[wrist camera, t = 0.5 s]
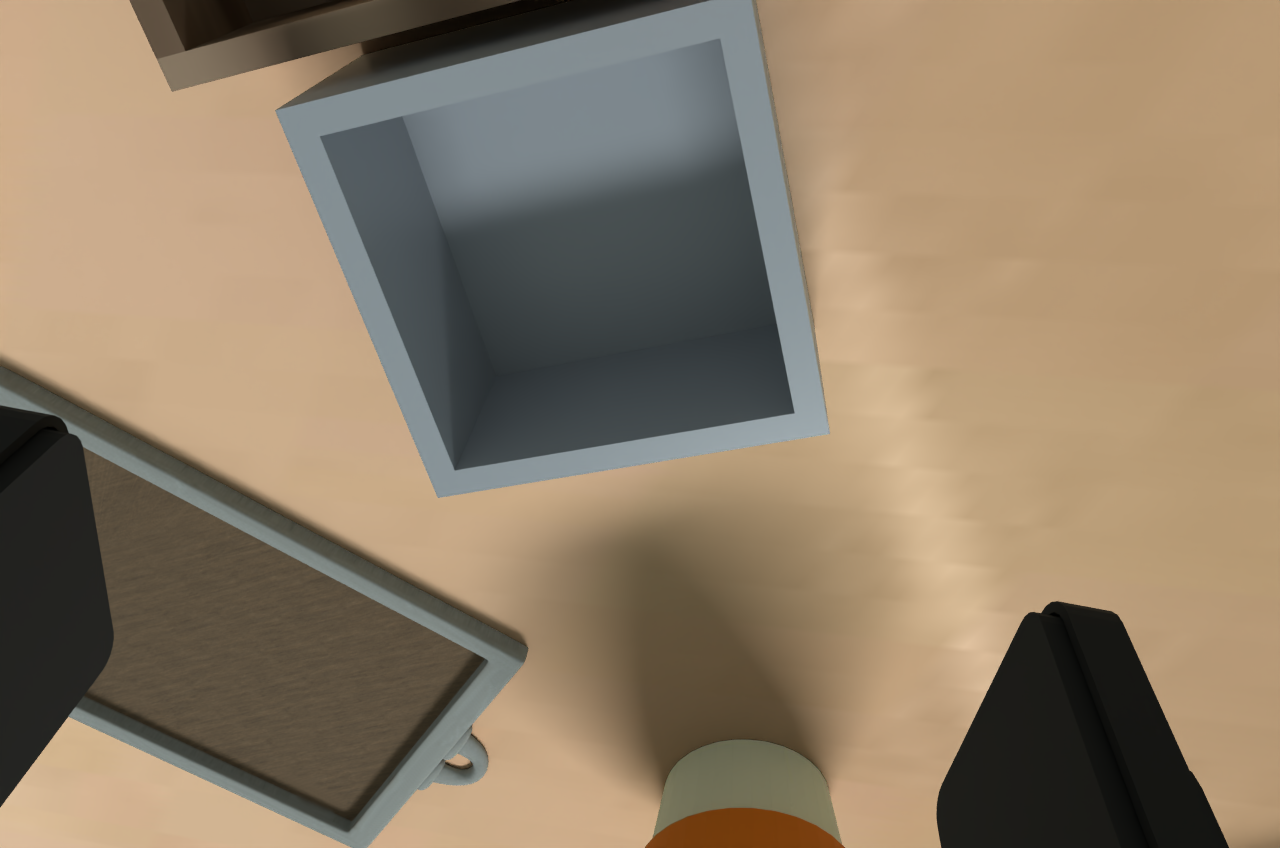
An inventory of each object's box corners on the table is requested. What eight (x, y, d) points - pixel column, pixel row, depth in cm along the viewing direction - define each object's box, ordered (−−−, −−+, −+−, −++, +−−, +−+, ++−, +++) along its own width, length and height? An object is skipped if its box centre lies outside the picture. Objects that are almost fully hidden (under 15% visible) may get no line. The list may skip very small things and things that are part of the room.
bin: (747, -45, 34) (749, -10, 27) (814, 328, 40) (829, 433, 33) (362, 55, 36) (275, 110, 29) (486, 389, 43) (437, 497, 36)
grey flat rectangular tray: (-18, 375, 44) (571, 687, 50) (6, 358, 45) (575, 664, 52) (-106, 638, 53) (403, 873, 59) (-85, 616, 54) (411, 849, 61)
